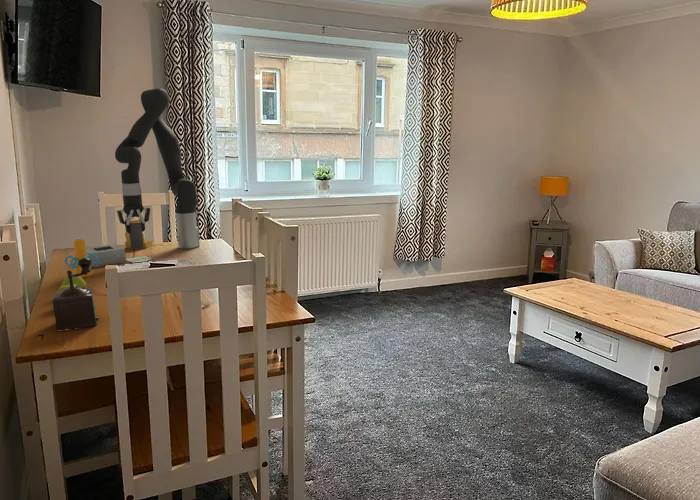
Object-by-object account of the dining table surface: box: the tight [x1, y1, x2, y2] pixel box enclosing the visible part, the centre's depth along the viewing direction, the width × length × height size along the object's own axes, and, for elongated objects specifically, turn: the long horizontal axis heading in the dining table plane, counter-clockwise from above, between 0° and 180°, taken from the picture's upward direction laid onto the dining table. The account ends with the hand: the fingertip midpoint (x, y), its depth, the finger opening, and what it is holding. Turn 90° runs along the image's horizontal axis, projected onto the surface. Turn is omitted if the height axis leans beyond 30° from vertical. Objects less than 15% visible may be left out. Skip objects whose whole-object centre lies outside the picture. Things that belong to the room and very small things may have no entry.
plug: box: [129, 219, 144, 250], centre depth 230 cm, size 5×5×12 cm
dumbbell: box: [57, 276, 87, 292], centre depth 177 cm, size 16×8×7 cm, turn 20°
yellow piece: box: [124, 231, 154, 249], centre depth 258 cm, size 10×10×9 cm
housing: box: [86, 243, 127, 269], centre depth 229 cm, size 14×14×6 cm
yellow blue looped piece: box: [64, 237, 98, 279], centre depth 206 cm, size 12×10×15 cm
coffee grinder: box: [52, 258, 100, 331], centre depth 156 cm, size 16×11×18 cm
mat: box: [126, 255, 152, 263], centre depth 232 cm, size 9×9×1 cm
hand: (135, 232), depth 230 cm, fingers closed on plug, 5 cm apart
